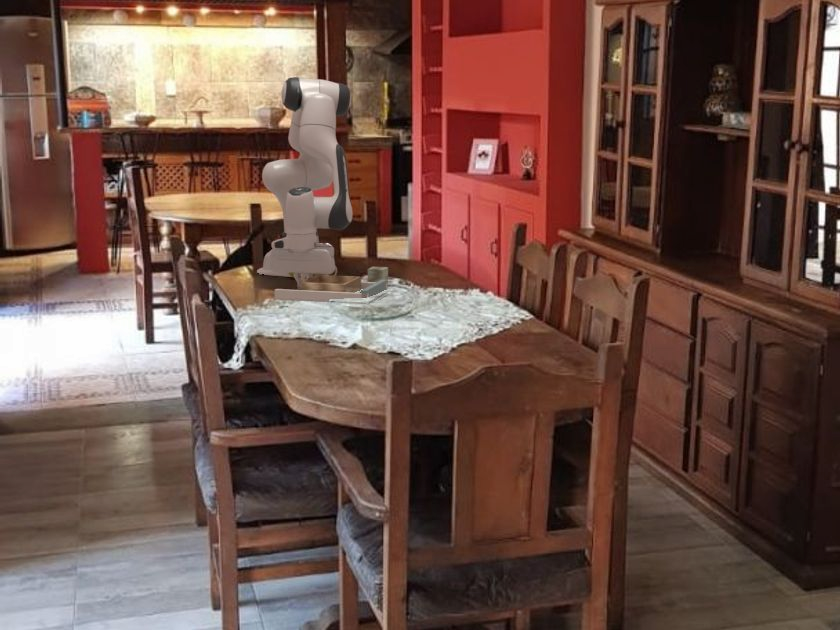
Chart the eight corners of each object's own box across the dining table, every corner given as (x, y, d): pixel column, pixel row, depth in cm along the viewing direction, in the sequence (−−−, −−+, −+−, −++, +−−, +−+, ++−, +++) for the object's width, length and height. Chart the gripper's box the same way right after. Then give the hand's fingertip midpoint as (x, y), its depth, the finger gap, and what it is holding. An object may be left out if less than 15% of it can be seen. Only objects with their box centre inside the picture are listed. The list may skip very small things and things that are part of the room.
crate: (300, 298, 319) (300, 282, 318) (318, 290, 333) (318, 274, 332) (345, 300, 315) (344, 284, 314) (361, 292, 329) (360, 276, 328)
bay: (274, 303, 319) (274, 286, 318) (299, 291, 337) (299, 275, 336) (367, 307, 311) (366, 290, 310) (387, 295, 329) (387, 279, 328)
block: (368, 291, 337) (367, 269, 336) (373, 288, 342) (372, 266, 340) (383, 291, 336) (382, 269, 334) (388, 289, 340) (387, 267, 339)
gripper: (337, 241, 323) (338, 287, 326) (275, 239, 329) (277, 284, 332) (329, 244, 317) (331, 291, 320) (266, 242, 323) (268, 288, 326)
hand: (303, 287), depth 326 cm, fingers closed
